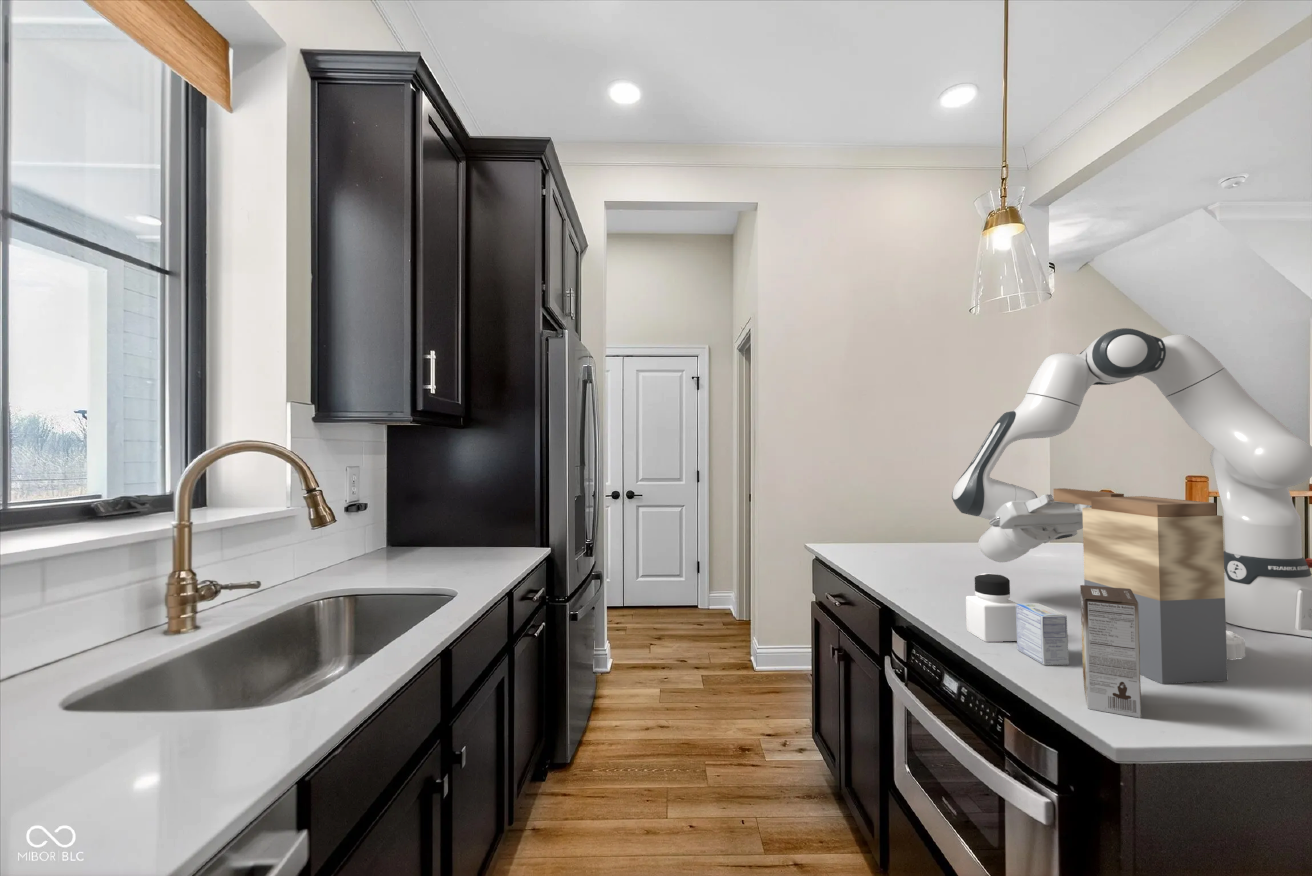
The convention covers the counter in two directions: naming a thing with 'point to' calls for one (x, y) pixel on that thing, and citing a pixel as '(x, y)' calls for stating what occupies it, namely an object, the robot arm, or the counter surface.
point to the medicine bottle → (991, 609)
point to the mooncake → (1234, 645)
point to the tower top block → (1155, 554)
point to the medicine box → (1042, 633)
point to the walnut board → (1135, 503)
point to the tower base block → (1181, 639)
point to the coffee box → (1111, 650)
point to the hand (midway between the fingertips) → (1072, 497)
